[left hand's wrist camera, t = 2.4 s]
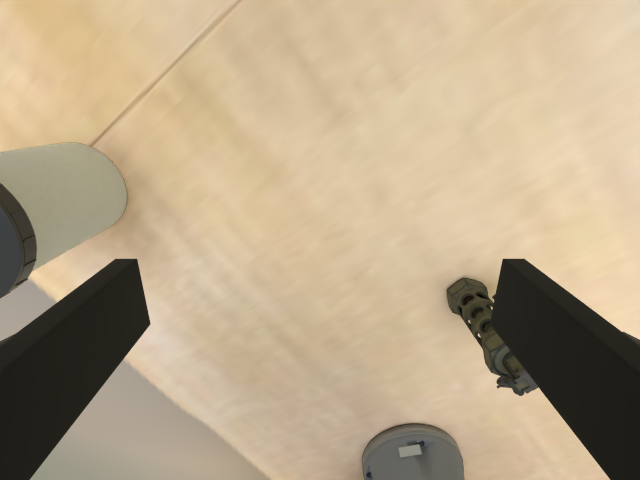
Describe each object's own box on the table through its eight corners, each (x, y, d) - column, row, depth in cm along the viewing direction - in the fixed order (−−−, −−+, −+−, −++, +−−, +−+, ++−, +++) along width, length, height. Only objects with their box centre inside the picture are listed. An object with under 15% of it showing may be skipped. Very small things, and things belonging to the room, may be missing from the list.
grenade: (460, 327, 46) (520, 423, 32) (432, 299, 45) (484, 387, 31) (517, 285, 44) (609, 369, 30) (490, 255, 43) (574, 328, 29)
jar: (48, 124, 37) (-124, 135, 23) (139, 172, 39) (33, 211, 25) (25, 203, 40) (-140, 258, 26) (110, 245, 42) (1, 318, 28)
